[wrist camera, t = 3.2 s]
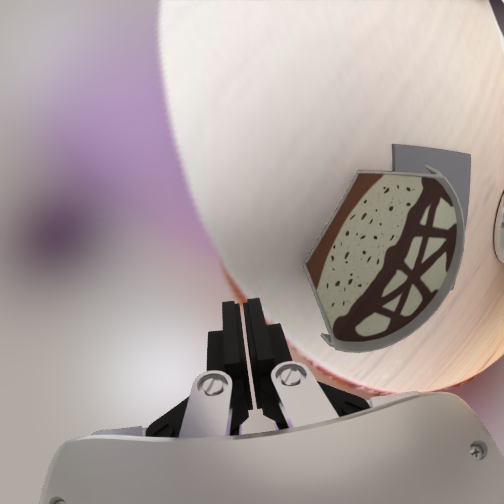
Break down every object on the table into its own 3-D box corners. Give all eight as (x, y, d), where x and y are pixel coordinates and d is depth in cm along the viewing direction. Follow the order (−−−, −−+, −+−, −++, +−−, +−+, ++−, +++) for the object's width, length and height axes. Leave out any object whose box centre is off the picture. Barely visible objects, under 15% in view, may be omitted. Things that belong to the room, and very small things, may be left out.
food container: (345, 302, 25) (392, 373, 16) (293, 278, 24) (330, 356, 14) (412, 193, 22) (491, 224, 12) (365, 155, 20) (448, 168, 11)
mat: (468, 154, 20) (470, 154, 20) (451, 288, 26) (453, 289, 26) (392, 143, 20) (394, 144, 19) (380, 305, 26) (382, 307, 25)
